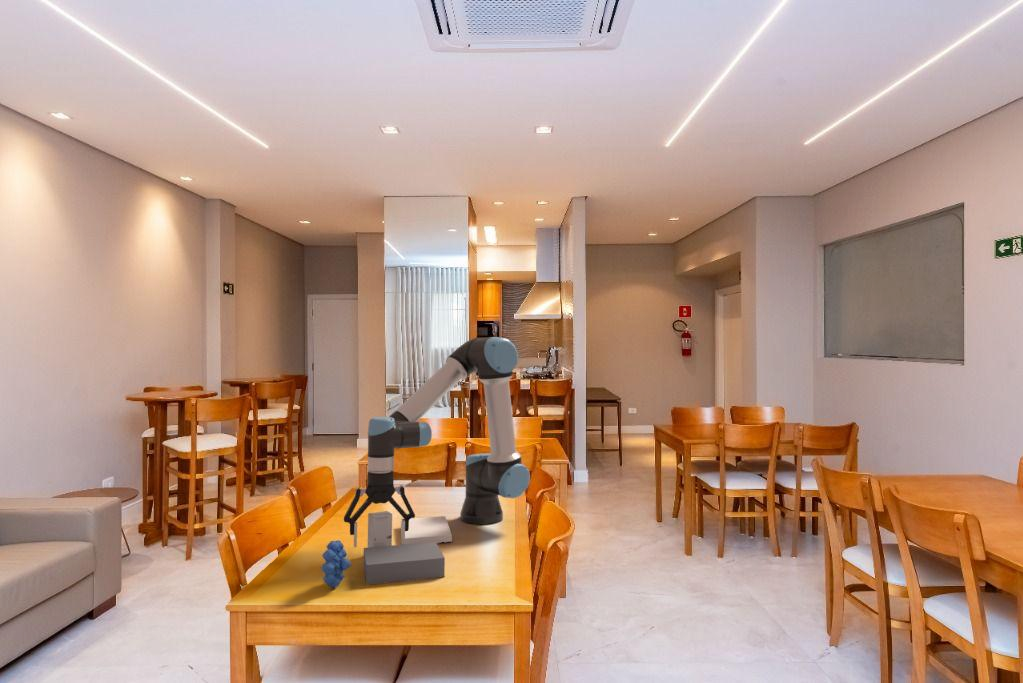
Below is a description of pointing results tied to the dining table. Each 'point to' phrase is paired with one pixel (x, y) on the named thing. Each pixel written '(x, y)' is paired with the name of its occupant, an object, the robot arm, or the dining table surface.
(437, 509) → the dining table surface
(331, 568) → the grapes
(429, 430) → the robot arm
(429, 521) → the food packaging
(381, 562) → the block
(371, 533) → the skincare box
